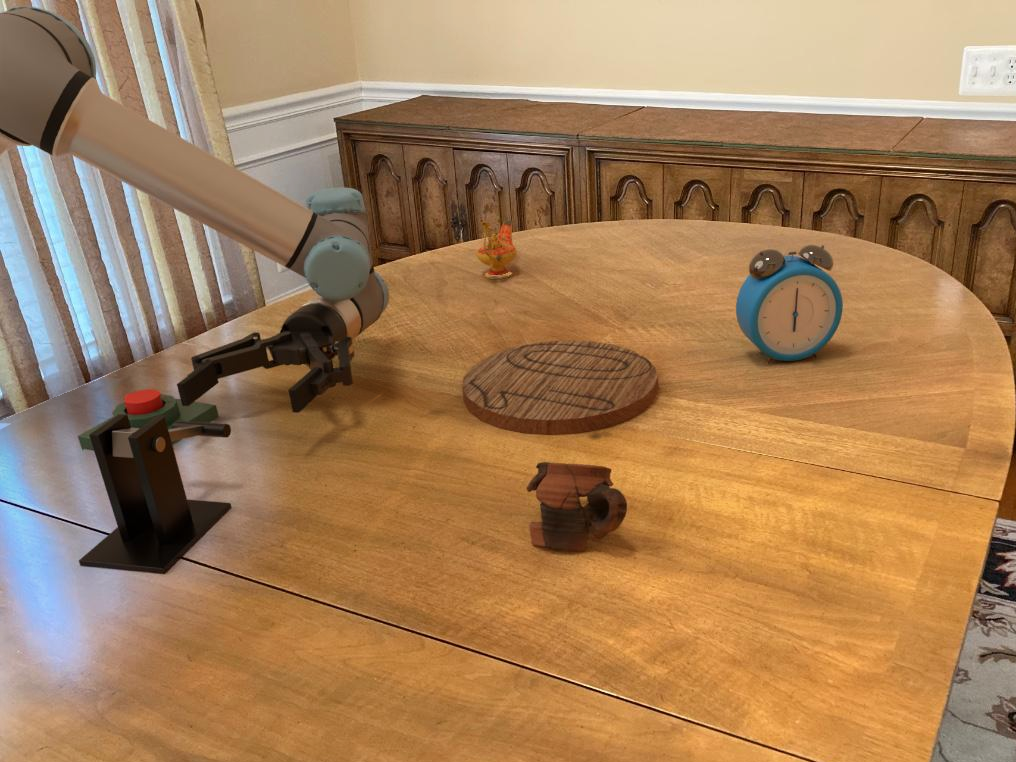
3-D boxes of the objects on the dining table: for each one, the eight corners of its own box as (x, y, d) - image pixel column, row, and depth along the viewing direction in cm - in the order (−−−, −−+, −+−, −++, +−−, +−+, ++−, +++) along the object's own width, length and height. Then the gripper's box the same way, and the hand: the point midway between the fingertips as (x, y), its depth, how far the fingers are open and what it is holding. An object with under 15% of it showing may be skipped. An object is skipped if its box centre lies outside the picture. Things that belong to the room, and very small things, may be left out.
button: (120, 414, 115) (116, 400, 114) (145, 400, 119) (141, 387, 118) (146, 418, 114) (142, 405, 113) (171, 404, 117) (167, 391, 116)
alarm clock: (748, 369, 130) (753, 259, 123) (732, 352, 135) (736, 246, 128) (839, 357, 133) (849, 249, 125) (820, 341, 138) (829, 236, 131)
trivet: (623, 446, 112) (623, 431, 111) (428, 420, 119) (426, 406, 118) (679, 362, 133) (679, 349, 132) (510, 345, 140) (509, 333, 139)
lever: (180, 437, 104) (179, 415, 104) (231, 441, 103) (230, 418, 103) (94, 455, 91) (93, 429, 91) (151, 459, 90) (151, 433, 90)
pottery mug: (502, 543, 96) (509, 459, 96) (568, 543, 103) (574, 465, 103) (594, 555, 88) (601, 464, 88) (658, 555, 95) (664, 470, 95)
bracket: (155, 505, 103) (124, 396, 97) (233, 512, 102) (205, 401, 96) (81, 571, 93) (41, 452, 87) (166, 579, 91) (131, 459, 85)
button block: (82, 452, 115) (72, 422, 113) (157, 410, 125) (149, 381, 123) (148, 465, 111) (139, 434, 110) (220, 420, 121) (213, 391, 119)
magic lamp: (530, 256, 178) (526, 195, 173) (507, 288, 163) (502, 222, 158) (494, 256, 179) (489, 195, 174) (468, 287, 164) (461, 222, 159)
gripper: (414, 360, 127) (346, 434, 108) (239, 352, 131) (145, 422, 113) (407, 305, 123) (336, 372, 105) (227, 299, 128) (129, 362, 110)
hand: (237, 398), depth 109 cm, fingers open, 13 cm apart
